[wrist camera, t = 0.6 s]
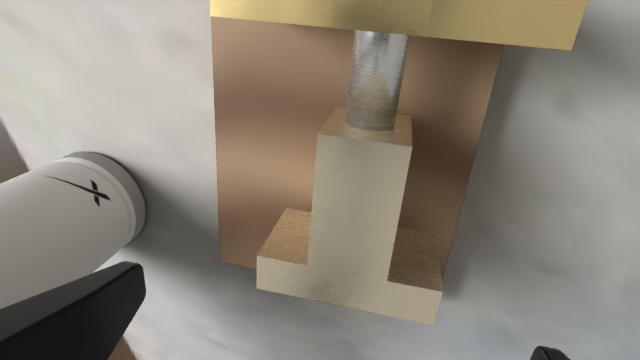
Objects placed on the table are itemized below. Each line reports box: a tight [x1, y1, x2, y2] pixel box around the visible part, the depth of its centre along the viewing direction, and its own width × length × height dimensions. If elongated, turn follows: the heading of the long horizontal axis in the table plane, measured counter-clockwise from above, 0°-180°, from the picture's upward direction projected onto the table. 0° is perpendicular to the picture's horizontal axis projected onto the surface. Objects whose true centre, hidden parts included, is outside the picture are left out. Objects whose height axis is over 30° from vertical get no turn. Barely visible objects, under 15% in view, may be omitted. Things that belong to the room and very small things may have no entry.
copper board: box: [211, 16, 504, 280], centre depth 18 cm, size 17×12×2 cm
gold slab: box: [210, 0, 588, 51], centre depth 12 cm, size 2×10×5 cm, turn 86°
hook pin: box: [256, 30, 443, 325], centre depth 14 cm, size 14×7×4 cm, turn 176°
